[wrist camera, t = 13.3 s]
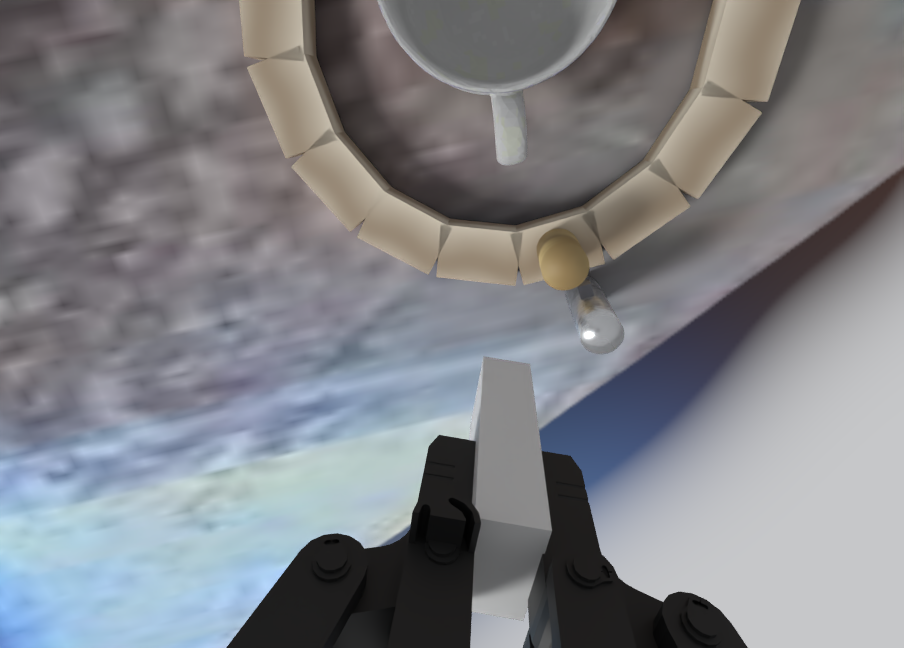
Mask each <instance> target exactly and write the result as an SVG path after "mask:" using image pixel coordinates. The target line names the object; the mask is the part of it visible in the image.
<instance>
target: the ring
mask: <svg viewBox="0 0 904 648" xmlns="http://www.w3.org/2000/svg"><path fill="white" fill-rule="evenodd" d="M800 1H801V0H713V3H712V7H711V11H710V14H709V18H708V22H707V26H706V30H705V33H704V37H703V41H702V45H701V49H700V53H699V56H698V60H697V64H696V68H695V72H694V76H693V79H692V83H691V87H690V90H689V91H688V93H687V94H686V96H685V97H684V99H683V100H682V102H681V103H680V105H679V107H678V108H677V110H676V111H675V113H674V114H673V116H672V117H671V119H670V120H669V122H668V123H667V125H666V126H665V128H664V129H663V131H662V132H661V134H660V135H659V137H658V138H657V140H656V141H655V143H654V144H653V146H652V147H651V149H650V150H649V152H648V153H647V155H646V156H645V158H644V159H643V160H642V161H641V162H640V163H638V164H637V165H636V166H634V167H633V168H632V169H630V170H629V171H628V172H626V173H625V174H624V175H623V176H621V177H620V178H619V179H617V180H616V181H615V182H613V183H612V184H611V185H609V186H608V187H607V188H605V189H604V190H603V191H601V192H600V193H599V194H597V195H596V196H595V197H593V198H592V199H591V200H589V201H588V202H587V203H585V204H584V205H583V206H580V207H577V208H574V209H570V210H567V211H563V212H560V213H556V214H553V215H550V216H546V217H543V218H539V219H536V220H532V221H529V222H526V223H522V224H519V225H507V224H497V223H488V222H478V221H468V220H459V219H450V218H448V217H446V216H444V215H442V214H440V213H439V212H437V211H435V210H433V209H431V208H429V207H427V206H426V205H424V204H422V203H420V202H418V201H416V200H414V199H413V198H411V197H409V196H407V195H405V194H403V193H401V192H400V191H398V190H396V189H394V188H392V187H391V186H390V185H389V184H388V183H387V181H386V180H385V179H384V178H383V177H382V175H381V174H380V173H379V172H378V171H377V170H376V168H375V167H374V166H373V165H372V164H371V162H370V161H369V160H368V159H367V158H366V157H365V155H364V154H363V153H362V152H361V151H360V150H359V148H358V147H357V146H356V145H355V144H354V142H353V141H352V140H351V139H350V138H349V137H348V135H347V134H346V133H345V132H344V129H343V126H342V124H341V121H340V118H339V116H338V113H337V110H336V108H335V105H334V102H333V100H332V97H331V94H330V92H329V89H328V86H327V84H326V81H325V78H324V76H323V73H322V70H321V68H320V65H319V62H318V60H317V57H316V28H315V0H239V3H240V15H241V26H242V38H243V49H244V56H245V57H250V58H254V59H259V60H263V61H261V62H258V63H256V64H254V65H251V66H249V67H247V69H248V71H249V73H250V76H251V78H252V80H253V83H254V85H255V87H256V90H257V92H258V94H259V97H260V99H261V101H262V104H263V106H264V108H265V111H266V113H267V115H268V118H269V120H270V122H271V125H272V127H273V129H274V132H275V134H276V136H277V139H278V141H279V143H280V146H281V148H282V150H283V153H284V155H285V158H291V157H296V156H300V155H302V156H301V157H300V158H299V159H298V161H297V162H296V163H295V164H294V165H293V166H292V168H293V169H294V170H295V172H296V173H297V174H298V175H299V176H300V177H301V178H302V179H303V180H304V182H305V183H306V184H307V185H308V186H309V187H310V188H311V189H312V190H313V191H314V193H315V194H316V195H317V196H318V197H319V198H320V199H321V200H322V201H323V203H324V204H325V205H326V206H327V207H328V208H329V209H330V210H331V211H332V213H333V214H334V215H335V216H336V217H337V218H338V219H339V220H340V221H341V222H342V224H343V225H344V226H345V227H346V228H347V229H348V230H349V231H350V232H351V231H352V230H353V229H354V228H356V227H357V226H358V225H359V224H361V223H362V222H363V221H364V222H363V225H362V227H361V229H360V232H359V234H358V236H357V238H359V239H361V240H363V241H365V242H367V243H369V244H371V245H373V246H374V247H376V248H378V249H380V250H382V251H384V252H386V253H388V254H390V255H392V256H394V257H396V258H397V259H399V260H401V261H403V262H405V263H407V264H409V265H411V266H413V267H415V268H417V269H419V270H420V271H422V272H424V273H426V274H428V275H429V273H430V271H431V269H432V267H433V265H434V263H435V261H436V259H437V257H438V265H437V277H440V278H449V279H458V280H467V281H476V282H485V283H494V284H504V285H513V286H515V284H516V278H517V271H518V265H519V269H520V273H521V276H522V280H523V284H524V285H526V284H530V283H534V282H538V281H542V280H545V282H546V283H547V284H548V285H549V286H551V287H552V288H555V289H558V290H570V289H573V288H576V287H577V286H579V285H580V284H581V283H582V282H583V281H584V280H585V279H586V277H587V275H588V273H589V268H591V267H595V266H599V265H602V264H605V262H604V257H603V252H602V247H601V244H602V245H603V247H604V248H605V249H606V251H607V252H608V253H609V255H610V256H611V257H612V259H613V260H614V259H615V258H617V257H618V256H620V255H621V254H623V253H624V252H626V251H627V250H628V249H630V248H631V247H633V246H634V245H636V244H637V243H639V242H640V241H641V240H643V239H644V238H646V237H647V236H649V235H650V234H651V233H653V232H654V231H656V230H657V229H659V228H660V227H662V226H663V225H664V224H666V223H667V222H669V221H670V220H672V219H673V218H675V217H676V216H677V215H679V214H680V213H682V212H683V211H685V210H686V209H688V208H689V207H690V205H689V204H688V202H687V201H686V199H685V198H684V196H683V195H682V193H681V192H680V191H682V192H684V193H685V194H688V195H690V196H692V197H694V198H697V199H699V197H700V196H701V195H702V193H703V192H704V191H705V189H706V188H707V187H708V185H709V184H710V182H711V181H712V180H713V178H714V177H715V176H716V174H717V173H718V172H719V170H720V169H721V168H722V166H723V165H724V164H725V162H726V161H727V159H728V158H729V157H730V155H731V154H732V153H733V151H734V150H735V149H736V147H737V146H738V145H739V143H740V142H741V141H742V139H743V138H744V136H745V135H746V134H747V132H748V131H749V130H750V128H751V127H752V126H753V124H754V123H755V122H756V120H757V119H758V118H759V116H760V115H761V113H762V112H760V111H759V110H757V109H756V108H754V107H752V106H751V105H749V104H747V103H746V102H768V99H769V96H770V93H771V90H772V87H773V84H774V81H775V78H776V75H777V72H778V69H779V66H780V63H781V60H782V56H783V53H784V50H785V47H786V44H787V41H788V38H789V35H790V32H791V29H792V26H793V23H794V20H795V17H796V14H797V10H798V7H799V4H800Z"/></svg>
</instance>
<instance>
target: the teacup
mask: <svg viewBox="0 0 904 648" xmlns="http://www.w3.org/2000/svg"><path fill="white" fill-rule="evenodd" d="M616 1H617V0H378V4H379V7H380V10H381V12H382V15H383V17H384V18H385V21H386V23H387V25H388V27H389V29H390V31H391V33H392V34H393V36H394V38H395V40H396V41H397V42H398V43H399V45H400V46H401V47H402V48H403V49H404V51H405V52H406V53H407V54H408V55H409V56H410V57H411V59H412V60H413V61H414V62H416V63H417V64H418V65H419V66H420V67H421V68H422V69H423V70H425V71H426V72H427V73H429V74H430V75H432V76H433V77H435V78H436V79H438V80H440V81H441V82H443V83H446V84H448V85H450V86H452V87H454V88H457V89H459V90H462V91H465V92H469V93H474V94H480V95H490V96H491V101H492V109H493V119H494V129H495V142H496V154H497V161H498V162H499V163H500V164H503V165H513V164H517V163H521V162H522V161H524V160H525V159H526V157H527V147H528V144H527V126H526V114H525V105H524V98H523V89H526V88H529V87H532V86H534V85H536V84H539V83H541V82H543V81H545V80H547V79H549V78H551V77H553V76H554V75H556V74H558V73H559V72H561V71H562V70H564V69H565V68H566V67H568V66H569V65H570V64H572V63H573V62H574V61H575V60H576V59H578V58H579V57H580V56H581V55H582V54H583V53H584V51H585V50H586V49H587V48H588V47H589V46H590V44H591V43H592V42H593V41H594V40H595V39H596V37H597V36H598V34H599V33H600V31H601V30H602V28H603V27H604V25H605V23H606V21H607V20H608V18H609V16H610V14H611V12H612V10H613V8H614V6H615V4H616Z"/></svg>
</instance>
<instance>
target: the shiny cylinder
mask: <svg viewBox="0 0 904 648" xmlns="http://www.w3.org/2000/svg"><path fill="white" fill-rule="evenodd" d="M565 295H566V299H567V302H568V305H569V308H570V311H571V314H572V317H573V320H574V322H575V325H576V328H577V331H578V334H579V337H580V340H581V343H582V345H583V346H584V348H585V349H587V350H588V351H590V352H592V353H595V354H606V353H610V352H612V351H614V350H615V349H617V348H618V347H619V346H620V344H621V343H622V341H623V338H624V329H623V326H622V324H621V323H620V321H619V319H618V317H617V316H616V314H615V312H614V310H613V308H612V307H611V305H610V303H609V301H608V300H607V298H606V296H605V294H604V292H603V291H602V289H601V287H600V285H599V284H598V282H597V281H596V280H595V279H593V278H591V277H588V276H587V277H586V279H585V280H584V281H583V282H582V283H581V284H580V285H579V286H577V287H576V288H573V289H570V290H566V292H565Z"/></svg>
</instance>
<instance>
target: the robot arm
mask: <svg viewBox="0 0 904 648" xmlns="http://www.w3.org/2000/svg"><path fill="white" fill-rule="evenodd" d="M527 608H528V610H529V611H528V612H529V630H528V633H527V637H526V639H525V642H524V645H523V648H747V646H746V645H745V643H744V642H743V640H742V639H741V637H740V636H739V634H738V633H737V631H736V630H735V628H734V627H733V625H732V624H731V623H730V621H729V620H728V619H727V618H726V617H725V616H724V614H723V613H722V612H721V611H720V610H719V609H718V608H716V607H715V606H713V605H712V604H711V603H710V602H708V601H707V600H705V599H703V598H701V597H698V596H697V595H694V594H692V593H685V592H676V593H673V594H670V595H668V597H667V598H666V599H665V601H664V602H662V601H659V600H657V599H655V598H653V597H651V596H649V595H647V594H644V593H642V592H640V591H638V590H636V589H634V588H632V587H631V586H629V585H627V584H625V583H624V582H623V581H622V580H620V579H619V578H618V576H617V574H616V572H615V570H614V567H613V566H612V565H611V564H610V563H609V562H608V560H607V559H606V558H605V557H604V556H603V555H602V554H601V551H600V548H599V543H598V539H597V535H596V531H595V527H594V522H593V518H592V514H591V509H590V505H589V503H588V497H587V493H586V490H585V484H584V480H583V475H582V471H581V470H580V468H579V467H578V466H577V464H576V463H575V462H574V460H573V459H572V457H571V456H568V455H562V454H556V453H550V452H544V451H541V445H540V437H539V429H538V421H537V414H536V406H535V398H534V391H533V383H532V376H531V368H530V364H526V363H520V362H514V361H508V360H502V359H496V358H490V357H484V356H483V362H482V367H481V372H480V377H479V382H478V388H477V393H476V398H475V403H474V409H473V414H472V419H471V424H470V435H469V440H466V439H460V438H454V437H448V436H442V435H439V436H438V437H437V438H436V439H435V440H434V441H433V442H432V443H431V445H430V446H429V448H428V453H427V458H426V464H425V468H424V473H423V478H422V483H421V488H420V493H419V498H418V502H417V504H416V506H415V508H414V510H413V513H412V520H411V527H410V530H409V531H408V533H407V534H406V535H405V536H404V537H402V538H401V539H400V540H398V541H396V542H394V543H392V544H390V545H386V546H381V547H374V548H366V549H364V548H363V546H362V545H361V543H360V542H358V541H357V540H355V539H354V538H352V537H350V536H347V535H342V534H338V533H337V534H328V535H323V536H320V537H318V538H316V539H314V540H312V541H310V542H309V543H308V544H307V545H306V546H305V547H304V548H303V549H301V551H300V552H299V553H298V554H297V556H296V557H295V558H294V560H293V561H292V562H291V564H290V565H289V566H288V568H287V569H286V570H285V572H284V573H283V574H282V575H281V577H280V578H279V579H278V581H277V582H276V583H275V585H274V586H273V587H272V589H271V590H270V591H269V593H268V594H267V595H266V596H265V598H264V599H263V600H262V602H261V603H260V604H259V606H258V607H257V608H256V610H255V611H254V612H253V613H252V615H251V616H250V617H249V619H248V620H247V621H246V623H245V624H244V625H243V627H242V628H241V629H240V631H239V632H238V633H237V634H236V636H235V637H234V638H233V640H232V641H231V642H230V644H229V645H228V646H227V648H470V636H471V616H472V614H471V613H472V612H475V613H481V614H487V615H493V616H498V617H504V618H509V619H516V620H521V621H523V620H524V617H525V614H526V611H527Z"/></svg>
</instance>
